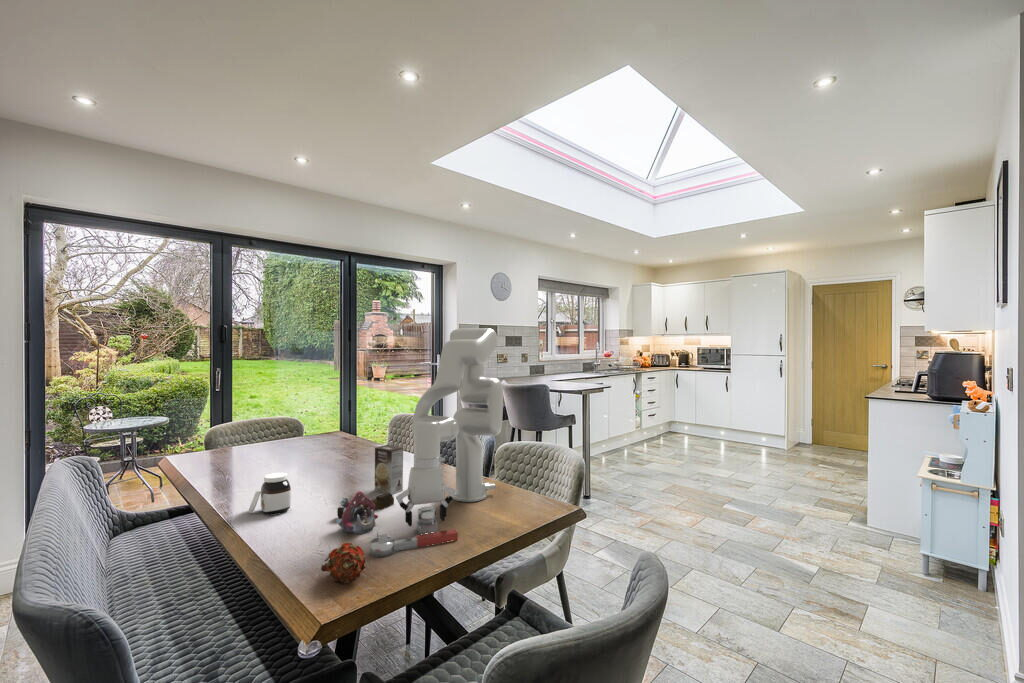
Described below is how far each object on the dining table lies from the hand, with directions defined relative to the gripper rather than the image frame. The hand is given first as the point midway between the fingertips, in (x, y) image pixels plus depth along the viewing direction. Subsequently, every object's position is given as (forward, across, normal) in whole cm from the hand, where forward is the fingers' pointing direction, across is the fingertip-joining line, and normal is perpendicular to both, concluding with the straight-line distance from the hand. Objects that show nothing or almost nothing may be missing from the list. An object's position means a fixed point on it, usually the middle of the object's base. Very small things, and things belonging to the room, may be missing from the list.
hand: (426, 522), depth 131 cm
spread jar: (+3, +43, -36) cm, 56 cm away
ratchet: (+3, +5, +9) cm, 10 cm away
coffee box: (+2, +4, -42) cm, 43 cm away
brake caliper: (+3, +18, -10) cm, 21 cm away
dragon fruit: (+3, +24, +19) cm, 30 cm away
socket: (+2, 0, 0) cm, 3 cm away
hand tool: (+3, +14, -24) cm, 27 cm away
